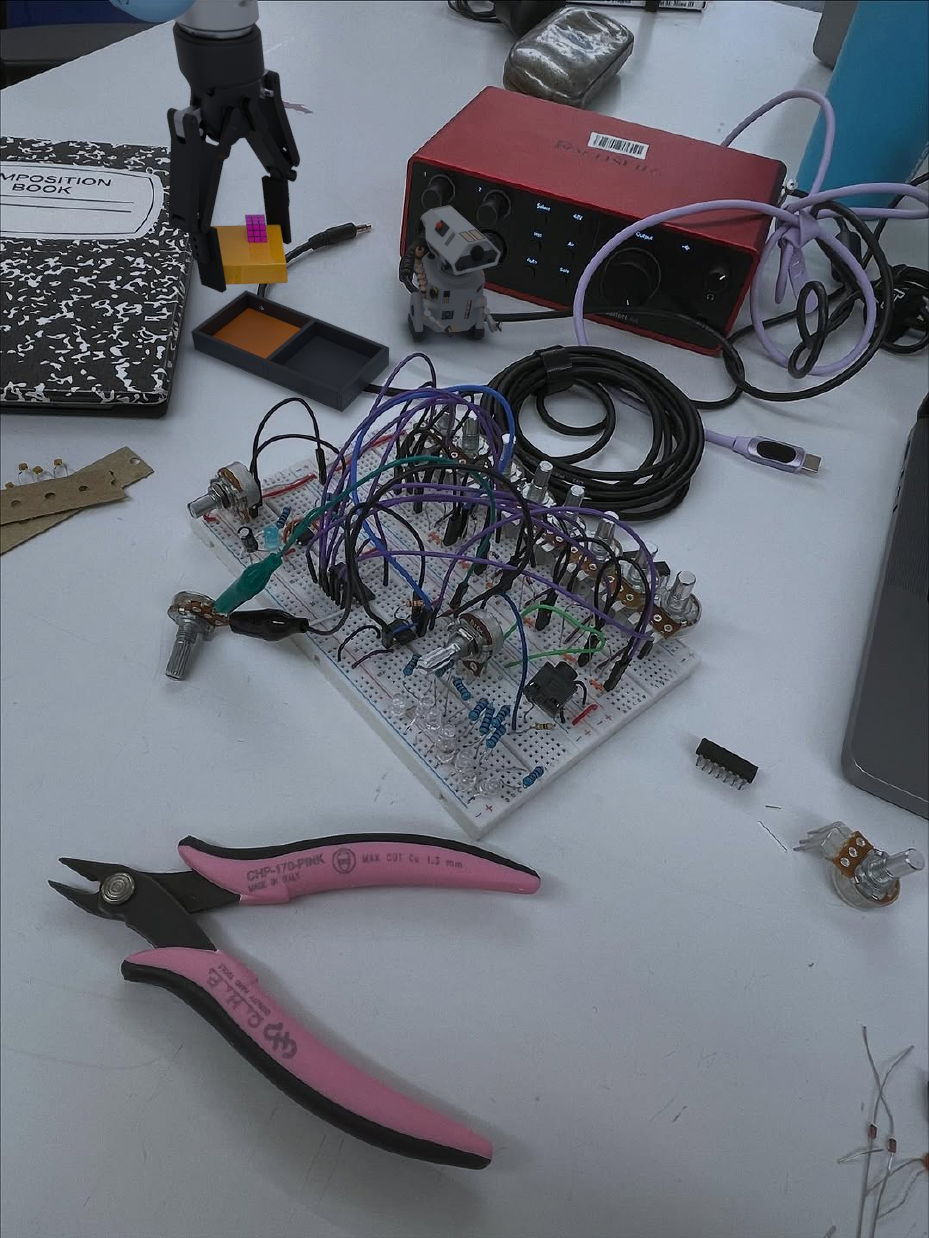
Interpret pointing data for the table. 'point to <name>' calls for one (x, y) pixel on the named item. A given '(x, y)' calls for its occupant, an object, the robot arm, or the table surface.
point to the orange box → (252, 252)
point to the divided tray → (292, 349)
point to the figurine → (452, 276)
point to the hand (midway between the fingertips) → (248, 262)
